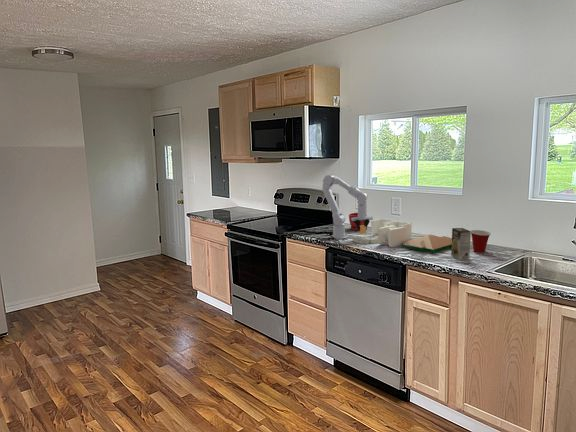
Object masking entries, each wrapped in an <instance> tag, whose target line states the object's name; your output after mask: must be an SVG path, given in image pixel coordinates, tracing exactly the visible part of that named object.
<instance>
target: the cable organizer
mask: <svg viewBox="0 0 576 432" xmlns="http://www.w3.org/2000/svg"><path fill="white" fill-rule="evenodd" d="M377 236H378V243H377V244H379V245H382V246H385V245H387V244H388V246H389V248H396V247H402V242H405V241H407V240H406V228H405V227H400V228H397V227H396V226H393V225H392V226H386V227H381V228H379V229H378V235H377ZM403 245H404V244H403Z"/></svg>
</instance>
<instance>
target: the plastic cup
mask: <svg viewBox="0 0 576 432" xmlns="http://www.w3.org/2000/svg"><path fill="white" fill-rule="evenodd" d="M470 231H471V240H472V247H473V252H474V253H476V252H478V253H477V254H482V253H486V249H487V245H488V241H489V238H490V235H491V232H489V231H486V230H480V229H472V230H470Z"/></svg>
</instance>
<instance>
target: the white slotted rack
mask: <svg viewBox="0 0 576 432" xmlns="http://www.w3.org/2000/svg"><path fill="white" fill-rule="evenodd" d="M392 225H393V226H396V227H397V228H400V227H405V228H406V241H409V240H412V223H411V222H406V221H399V220H397V221H395V220H394V219H385V218H378V219H374V220H371V221H370V230H371V231H370V236H371V237H373V236H374V237H375V236H378V229H379V228H381V227H386V226H392Z"/></svg>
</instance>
